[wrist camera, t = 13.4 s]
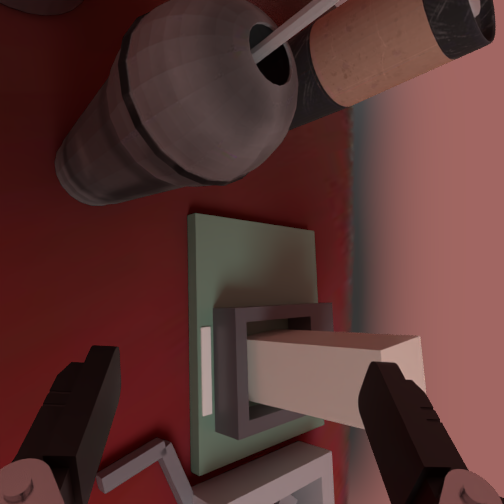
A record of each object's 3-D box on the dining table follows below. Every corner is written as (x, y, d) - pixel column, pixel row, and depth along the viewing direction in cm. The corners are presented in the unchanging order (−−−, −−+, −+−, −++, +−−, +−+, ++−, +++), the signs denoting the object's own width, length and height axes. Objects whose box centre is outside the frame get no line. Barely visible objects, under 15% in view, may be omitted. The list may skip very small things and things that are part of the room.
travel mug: (242, 129, 34) (466, 17, 21) (236, 53, 34) (451, -102, 21) (293, 143, 39) (501, 60, 26) (287, 77, 39) (488, -38, 26)
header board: (187, 215, 29) (216, 206, 26) (306, 232, 39) (335, 227, 36) (190, 471, 27) (223, 488, 24) (315, 422, 36) (347, 430, 34)
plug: (233, 338, 29) (380, 350, 21) (289, 326, 34) (429, 332, 25) (238, 397, 29) (389, 435, 20) (294, 377, 34) (437, 401, 25)
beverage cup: (6, 194, 21) (284, -60, 7) (56, 88, 23) (339, -267, 9) (127, 246, 25) (450, 162, 11) (158, 152, 28) (457, -16, 13)
